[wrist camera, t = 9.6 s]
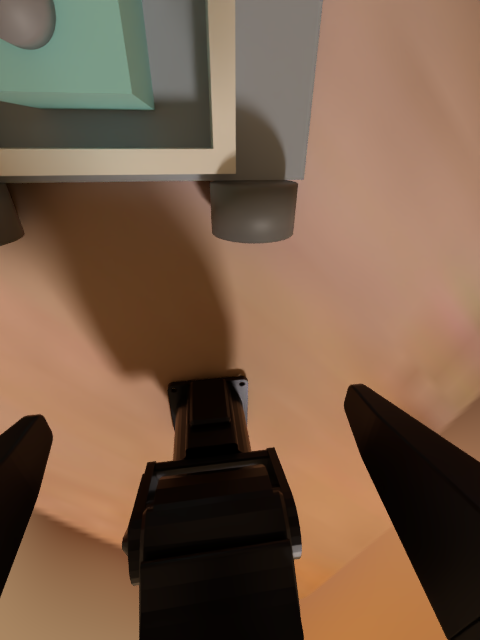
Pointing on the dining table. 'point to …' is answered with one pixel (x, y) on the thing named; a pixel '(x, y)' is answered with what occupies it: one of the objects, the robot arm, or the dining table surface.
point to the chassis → (191, 117)
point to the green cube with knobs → (75, 54)
